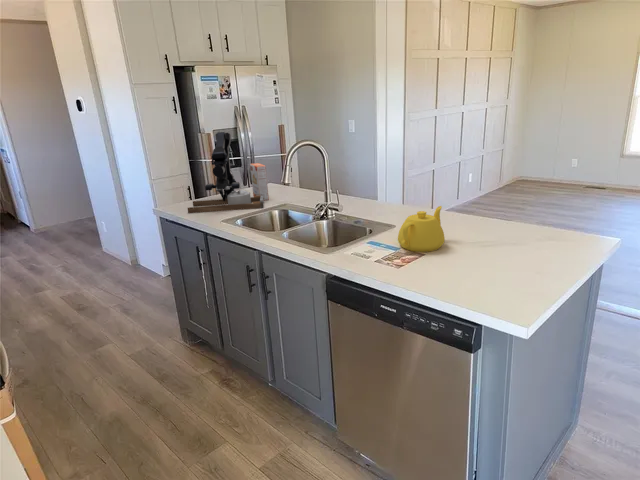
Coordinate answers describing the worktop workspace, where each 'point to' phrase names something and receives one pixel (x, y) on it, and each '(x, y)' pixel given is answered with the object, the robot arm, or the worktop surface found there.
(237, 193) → the lumpy-topped squat cylinder
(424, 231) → the teapot
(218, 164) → the robot arm
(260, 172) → the cracker box
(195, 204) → the guide rails
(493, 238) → the worktop surface
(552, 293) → the worktop surface
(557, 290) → the worktop surface
